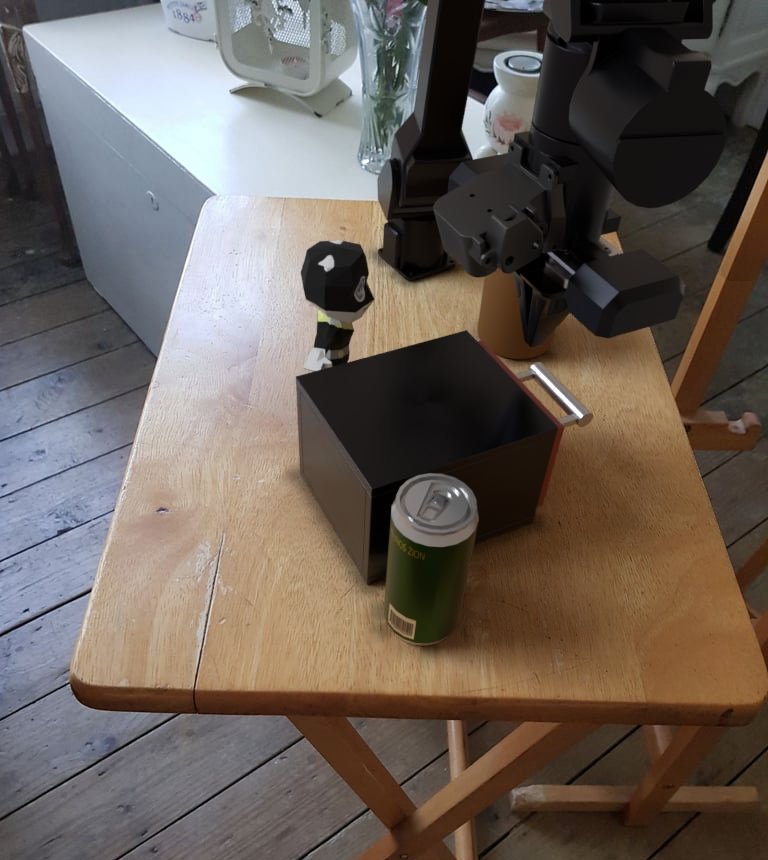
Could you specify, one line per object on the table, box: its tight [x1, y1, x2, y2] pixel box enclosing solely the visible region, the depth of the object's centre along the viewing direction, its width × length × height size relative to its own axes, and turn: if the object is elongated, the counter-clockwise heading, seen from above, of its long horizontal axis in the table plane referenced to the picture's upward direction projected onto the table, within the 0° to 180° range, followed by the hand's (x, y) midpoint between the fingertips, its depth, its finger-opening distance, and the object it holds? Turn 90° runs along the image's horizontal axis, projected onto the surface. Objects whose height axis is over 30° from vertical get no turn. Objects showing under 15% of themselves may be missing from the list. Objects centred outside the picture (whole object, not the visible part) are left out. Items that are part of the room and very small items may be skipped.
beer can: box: [383, 473, 479, 647], centre depth 53 cm, size 5×5×12 cm
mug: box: [477, 268, 557, 360], centre depth 79 cm, size 12×8×9 cm, turn 173°
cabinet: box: [295, 329, 558, 586], centre depth 62 cm, size 15×13×10 cm
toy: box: [300, 239, 375, 372], centre depth 68 cm, size 13×6×15 cm, turn 168°
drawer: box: [477, 340, 594, 508], centre depth 63 cm, size 18×11×8 cm, turn 117°
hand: (532, 344), depth 59 cm, fingers closed
